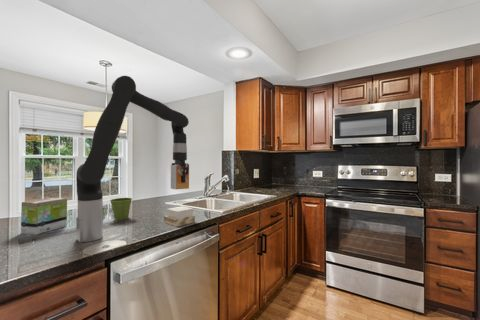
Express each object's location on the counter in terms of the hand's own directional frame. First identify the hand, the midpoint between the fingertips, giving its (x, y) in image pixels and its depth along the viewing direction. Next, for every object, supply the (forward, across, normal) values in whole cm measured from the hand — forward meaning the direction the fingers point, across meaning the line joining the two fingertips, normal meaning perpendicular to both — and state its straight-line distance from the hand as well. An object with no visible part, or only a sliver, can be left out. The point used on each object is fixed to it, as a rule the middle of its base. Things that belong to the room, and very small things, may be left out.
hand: (179, 181), depth 131 cm
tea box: (+23, -35, -54) cm, 68 cm away
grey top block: (+19, 0, 0) cm, 19 cm away
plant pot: (+22, -31, -20) cm, 43 cm away
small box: (+4, 0, 0) cm, 4 cm away
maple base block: (+23, 0, 0) cm, 23 cm away
